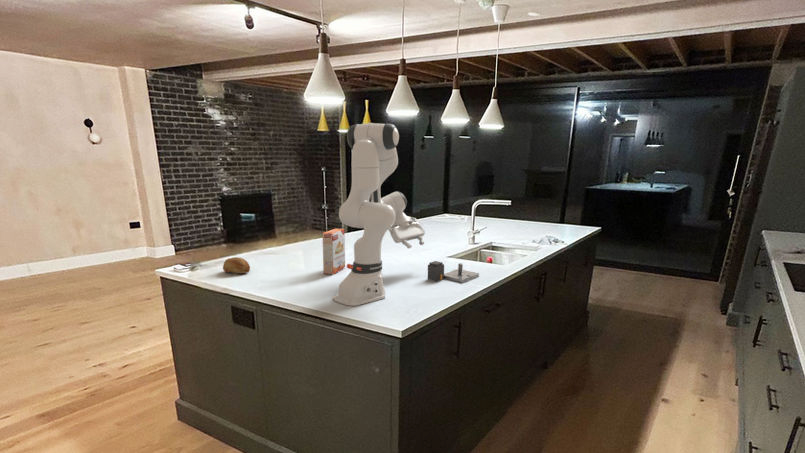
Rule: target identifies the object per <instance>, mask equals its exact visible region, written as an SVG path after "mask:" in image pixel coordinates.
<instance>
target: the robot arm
mask: <svg viewBox="0 0 805 453" xmlns="http://www.w3.org/2000/svg"><path fill="white" fill-rule="evenodd" d="M346 140H347V144H348V146H349V147H350V148H351V149H352V152H351V187H350V192H349V195H348V198H347V199H346V200H345V202H343V203H342V204H341V206H340V207H339V210H338V217H339V221H340V222H341V224H343V225H346V226H348V227H351V228H357V229H363V234H362V237H360V238H358V239H357V240H356V241H355V243H354V244H353V253H354V256H353V257H354V261H353V262H352V264H350V263H347V264H346V265H345V268H347V269H348V270H351V271H350V272H349V273H348V275H347V276H345V278H344V279H343V280H342V281H341V282H340V284H339V286H338V292H337V294H334V295H333V296H332V300H333V301H335V303H338V304H341V305H346V306H352V307H357V306H361V305H363V304H369V303H371V302H375V301H380V300H383V299H386V290H385V286H384V281H383V276H382V275H383V274H382V270H383V261H382V256H381V255H382V243H383V239H384V236H385V234H386V233H387V231H388V232H389V234H390V237H391V239H392V241H393V242H394V243H395V244H399V243H401V244H402V245H403V246H405V247H406V248H407V249H411V248H412V244H411V243H409V242H408V241H412V240H418V241H419V242H418V243H419V245H420V246H423V245H424V244H425V241H424V239H423V236H425V234H426V232H425V230H424V228H423V227H422V225H421V224H420V223H419V222H418V219H417V218H416V217H412V216H408V215H406V213H405V212H404V211H405V209H406V207H407V205H408V204H407V203H408V200H407V198H406V196H405V195H404V194H403V193H402V192H400V191H398V190H397V191H394V192H391V193H390V194H387V195H385V196H383V197H382V196H381V193H382V192H381V186H382V184H383V183H384V182H385V181H386V179H387V178H388V177H389V176H391V175H392V174H393V173H394V172H395V170H396V169H397V168H398V165H399V157H398V151H397V148H396V147H397V146H398V145H399V140H400V133H399V130H398V128H397V126H395V124H392V123H388V122H386V123H376V122H375V123H374V122H367V123H361V124H360V123H356V124H353V125H350V126H349V128H348V129H347V131H346Z"/></svg>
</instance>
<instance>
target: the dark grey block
mask: <svg viewBox="0 0 805 453" xmlns="http://www.w3.org/2000/svg"><path fill="white" fill-rule="evenodd" d="M444 274H445V264H444V263H443V262H442V261H437V260H434V261H430V262H429V264H427V280H429V281H433V282H440V281H442V280H445V279H444Z"/></svg>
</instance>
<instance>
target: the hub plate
mask: <svg viewBox="0 0 805 453" xmlns="http://www.w3.org/2000/svg"><path fill="white" fill-rule="evenodd" d="M479 277H480V273H479V272H475V271H474V272H473V271H470V270H465V269H463V263H458V266H457V269H454V270H451V271H449V272H446V273H445V272H444V279H443V280H448V281H453V282H456V283H460V284H464V283H466V282H468V281H470V280H471V281H472V280H473V279H476V278H479Z"/></svg>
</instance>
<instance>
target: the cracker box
mask: <svg viewBox="0 0 805 453" xmlns="http://www.w3.org/2000/svg"><path fill="white" fill-rule="evenodd" d="M345 232H346V231H345V228H333V229H331V230H328V231H325V232H323V233H322V261H323V262H322V265H323V267H322V268H323V269H322V270H323V274H324V273H325V274H324V275H330V274H334V275H335V274H337V273H339V272H341V271H342V270H344V269H345V268H346V243H345V242H346V240H345V239H346V237H345V235H346V234H345ZM344 267H345V268H344ZM343 268H344V269H343ZM341 269H342V270H341ZM338 271H339V272H338ZM336 272H337V273H336Z"/></svg>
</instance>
